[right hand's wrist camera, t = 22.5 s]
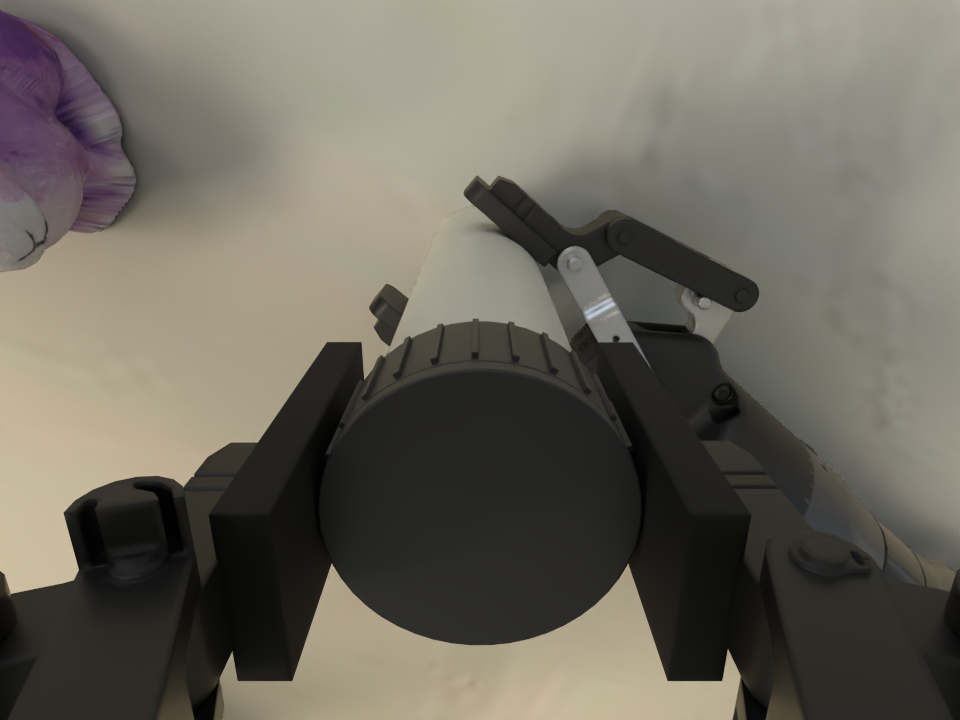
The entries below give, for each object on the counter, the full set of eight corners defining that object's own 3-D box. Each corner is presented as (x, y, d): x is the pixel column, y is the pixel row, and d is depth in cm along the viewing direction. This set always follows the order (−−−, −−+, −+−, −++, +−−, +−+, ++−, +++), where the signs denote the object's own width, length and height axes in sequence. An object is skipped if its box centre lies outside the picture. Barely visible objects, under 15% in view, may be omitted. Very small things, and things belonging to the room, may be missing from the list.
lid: (669, 389, 12) (713, 450, 10) (537, 594, 13) (548, 688, 11) (410, 266, 11) (392, 304, 9) (303, 502, 13) (266, 583, 10)
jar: (548, 274, 30) (659, 528, 11) (462, 322, 30) (436, 632, 12) (498, 186, 28) (533, 309, 10) (410, 238, 29) (290, 444, 11)
